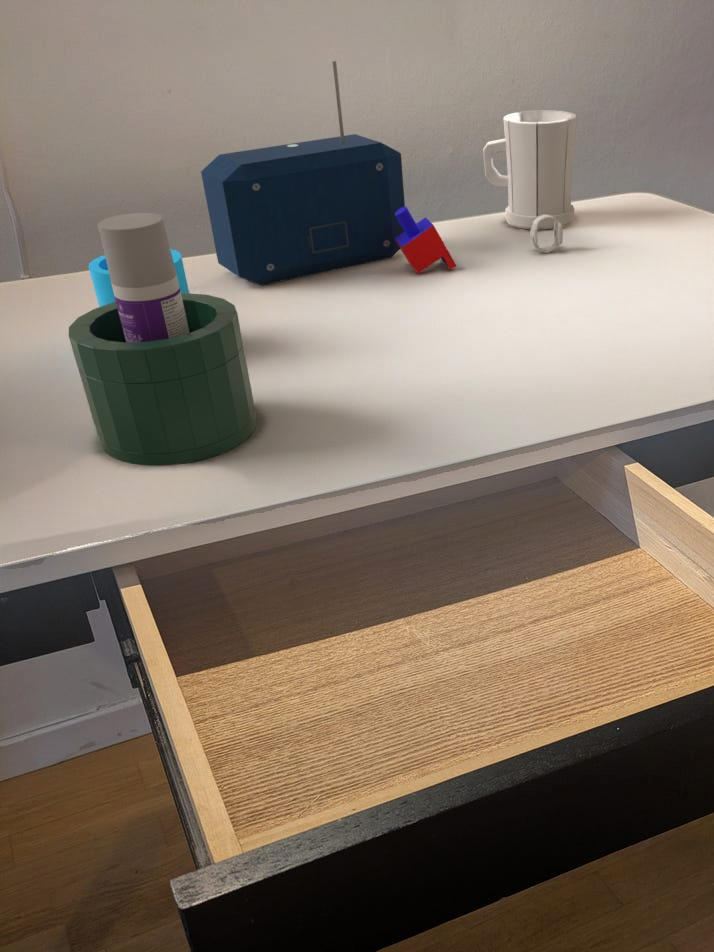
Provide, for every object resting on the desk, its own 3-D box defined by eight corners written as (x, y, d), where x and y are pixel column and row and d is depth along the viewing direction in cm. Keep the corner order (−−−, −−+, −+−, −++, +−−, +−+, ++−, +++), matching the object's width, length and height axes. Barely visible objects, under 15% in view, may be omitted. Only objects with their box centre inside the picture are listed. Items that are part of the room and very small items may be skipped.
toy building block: (418, 278, 113) (381, 216, 108) (448, 256, 112) (412, 194, 107) (425, 287, 110) (388, 224, 105) (456, 265, 110) (420, 201, 105)
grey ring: (532, 255, 113) (533, 218, 111) (527, 250, 115) (528, 214, 112) (562, 252, 114) (563, 216, 111) (557, 247, 116) (558, 211, 113)
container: (135, 428, 77) (82, 228, 68) (167, 404, 80) (120, 210, 71) (188, 434, 75) (140, 231, 66) (218, 409, 79) (177, 213, 70)
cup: (516, 236, 120) (515, 128, 112) (480, 220, 126) (477, 116, 119) (587, 223, 123) (591, 116, 116) (549, 208, 130) (550, 106, 123)
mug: (215, 348, 93) (197, 259, 88) (135, 371, 89) (111, 280, 84) (158, 317, 100) (139, 234, 95) (82, 338, 96) (57, 253, 91)
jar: (80, 468, 74) (43, 352, 68) (126, 401, 83) (98, 295, 78) (240, 463, 73) (217, 346, 68) (268, 397, 83) (249, 290, 78)
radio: (377, 239, 121) (360, 52, 109) (412, 255, 115) (398, 59, 103) (216, 272, 112) (177, 72, 100) (244, 291, 106) (207, 81, 94)
